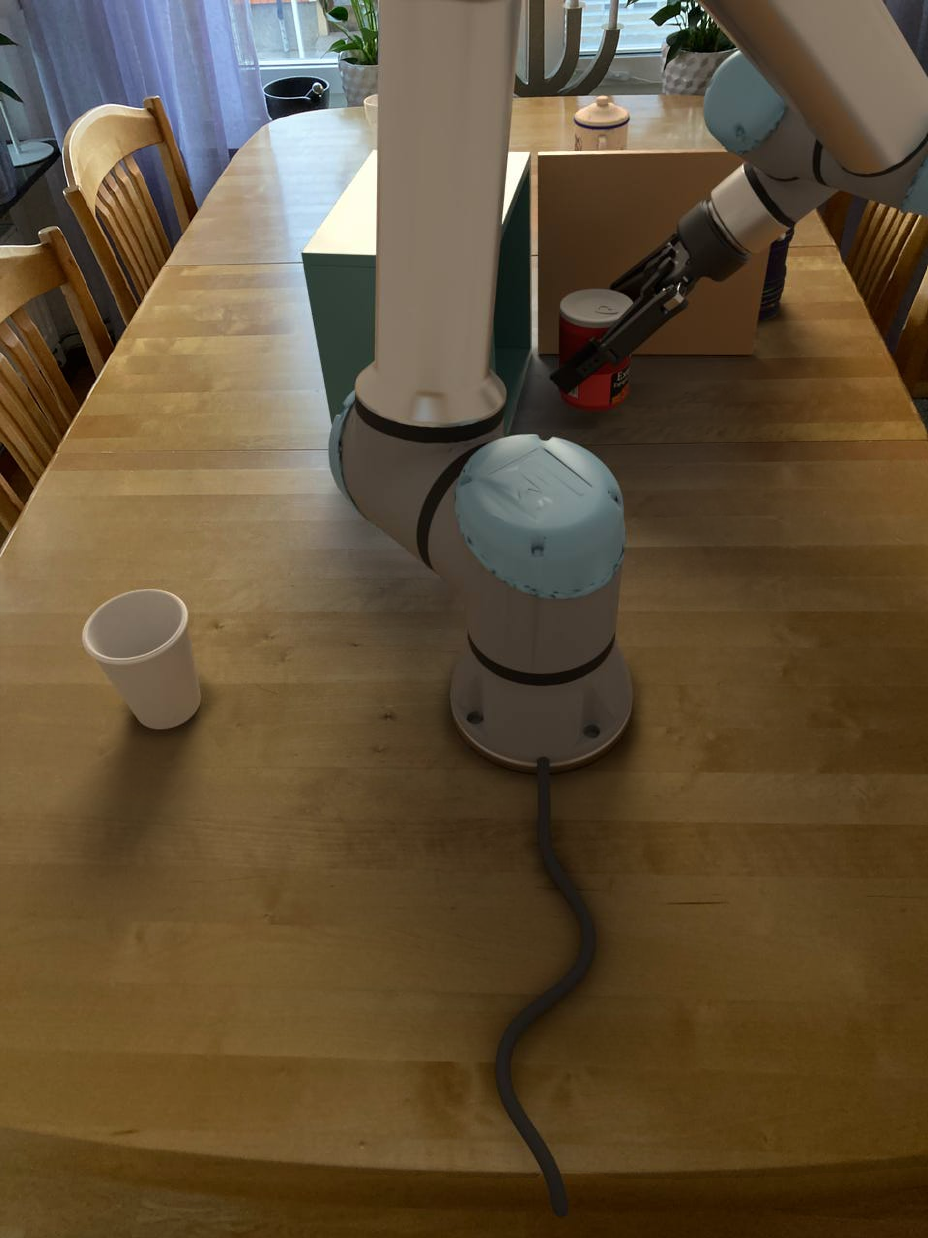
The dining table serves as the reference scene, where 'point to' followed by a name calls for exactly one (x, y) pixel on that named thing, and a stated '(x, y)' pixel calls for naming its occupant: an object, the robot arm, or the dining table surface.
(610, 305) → the canned food
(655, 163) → the fridge door
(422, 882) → the dining table surface
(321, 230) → the box
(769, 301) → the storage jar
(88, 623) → the dixie cup
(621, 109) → the teacup with lid
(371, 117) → the cup
